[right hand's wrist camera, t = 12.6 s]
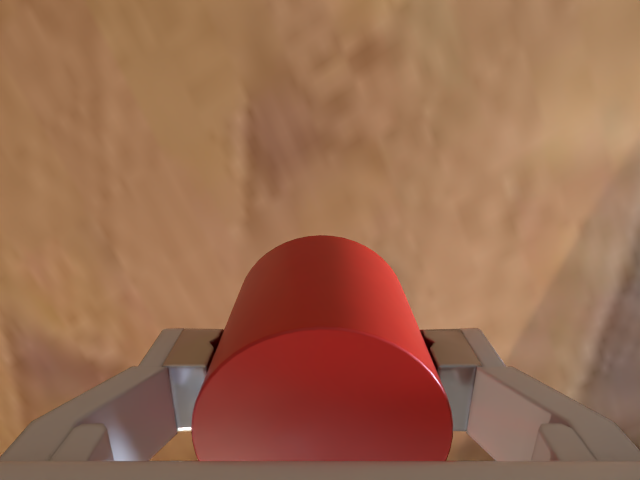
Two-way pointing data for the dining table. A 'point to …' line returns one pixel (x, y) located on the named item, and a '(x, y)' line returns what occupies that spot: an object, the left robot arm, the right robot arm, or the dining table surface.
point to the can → (322, 365)
